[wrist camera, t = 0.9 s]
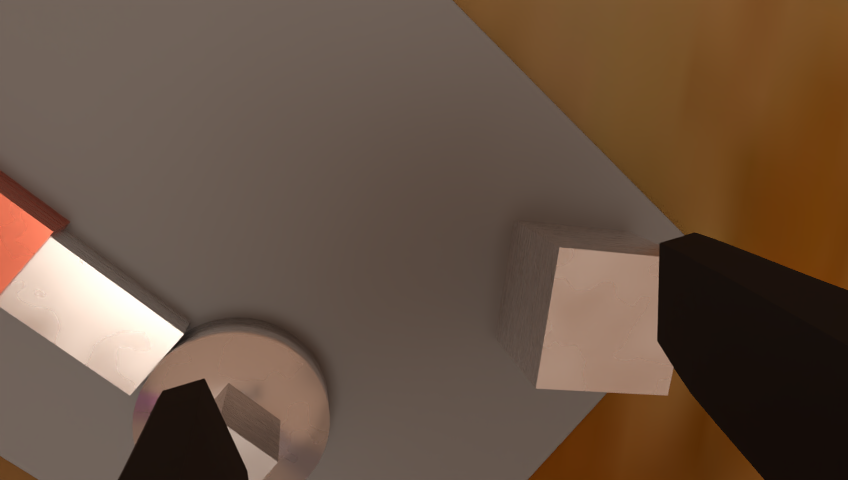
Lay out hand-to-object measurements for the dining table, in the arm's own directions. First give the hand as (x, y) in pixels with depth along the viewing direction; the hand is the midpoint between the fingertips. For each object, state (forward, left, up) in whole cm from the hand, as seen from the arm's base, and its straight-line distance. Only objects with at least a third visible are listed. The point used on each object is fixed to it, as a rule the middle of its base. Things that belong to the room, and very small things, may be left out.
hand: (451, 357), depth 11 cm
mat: (+1, +4, -17) cm, 17 cm away
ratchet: (+5, +9, -16) cm, 20 cm away
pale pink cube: (-9, -3, -16) cm, 19 cm away
